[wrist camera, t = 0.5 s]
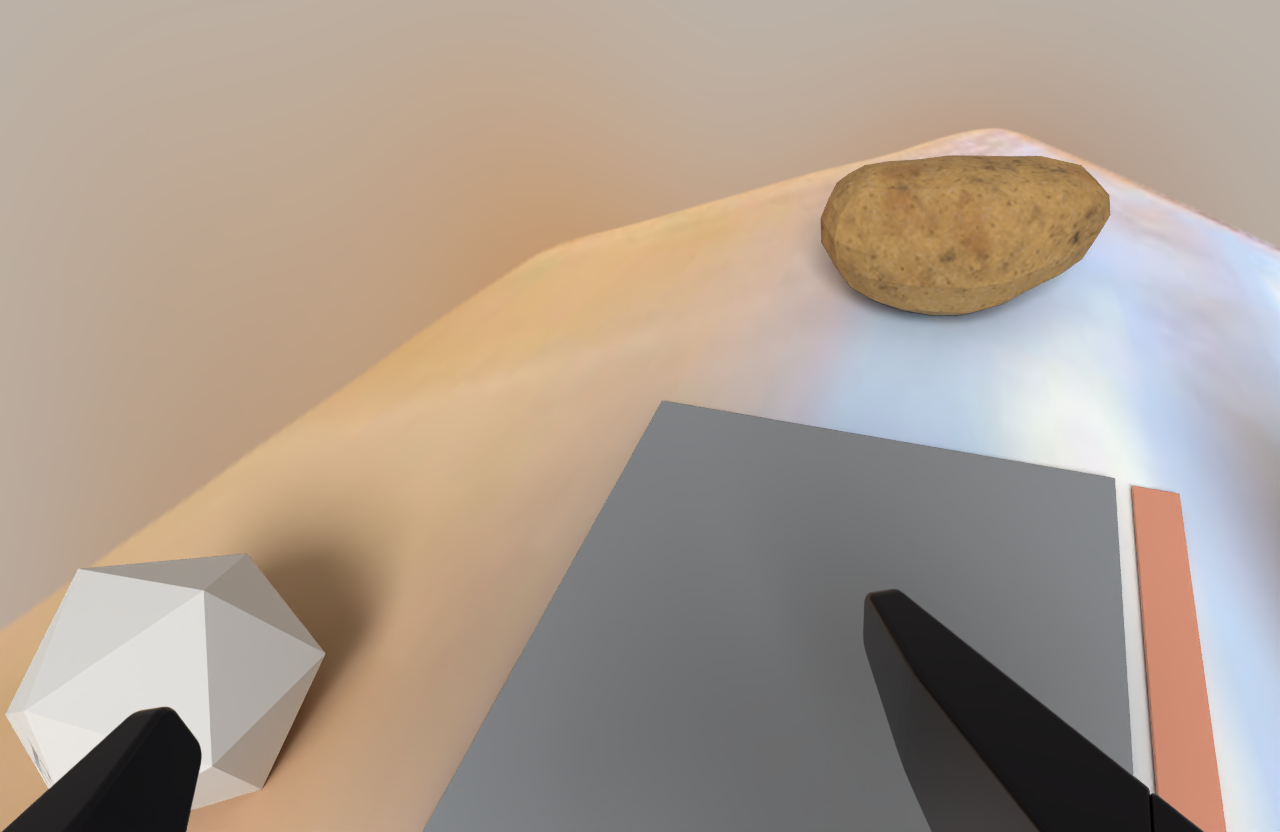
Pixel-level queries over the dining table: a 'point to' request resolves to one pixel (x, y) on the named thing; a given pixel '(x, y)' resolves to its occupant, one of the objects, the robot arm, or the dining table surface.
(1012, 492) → the mat
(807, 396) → the dining table surface
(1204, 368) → the dining table surface
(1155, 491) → the strip
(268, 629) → the die
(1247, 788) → the dining table surface
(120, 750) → the robot arm
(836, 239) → the potato
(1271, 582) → the dining table surface
